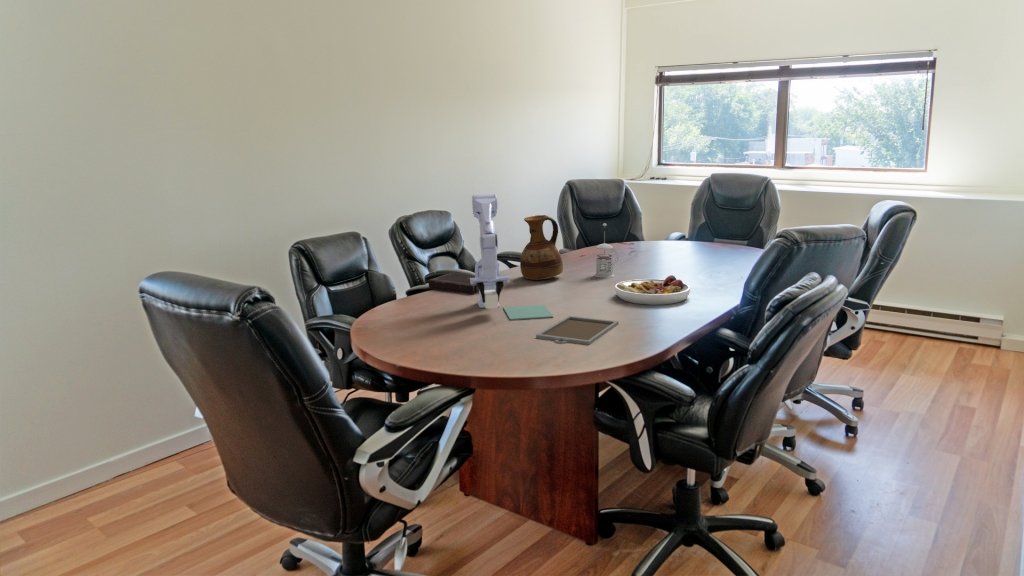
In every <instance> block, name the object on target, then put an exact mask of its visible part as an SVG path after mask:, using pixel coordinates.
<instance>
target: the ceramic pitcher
mask: <svg viewBox="0 0 1024 576" xmlns="http://www.w3.org/2000/svg"><path fill="white" fill-rule="evenodd" d="M523 220H524V222H526V224H528V227H529V228H528V229H529V230H528V231H529V234H530V237H529V242H528V243H527V244H526V245H525V247H524V248H523V250H522V252H521V255H520V262H519V265H520V268H519V269H520V272H521V275H522V277H524V278H525V279H527V280H534V281H535V280H537V281H538V280H547V279H550V278H555V277H557V276H559V275H560V274H562V273H563V272H564V263H563V257H562V255H561V253H560V250H558V248H557V246H556V245H557V244H556V243H557V240H558V235H559V226H558V223H557V221H556V220H555V219H554V218H553V217H551V216H549V215H546V214H543V215H541V214H540V215H539V214H536V215H535V216H532V215H531V216H527V217H525V218H523ZM545 221H550V223H551V225H552V234H551V237H550V239H547V238H546V237H545V234H544V230H543V229H544V223H545Z"/></svg>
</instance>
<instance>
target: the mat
mask: <svg viewBox="0 0 1024 576" xmlns="http://www.w3.org/2000/svg"><path fill="white" fill-rule="evenodd" d="M503 311H504V312H505V313H506V315H507V317H508V319H509V320H510V321H522V320H537V319H538V320H539V319H554V315H553V314H552V313H551V311H550V310H548V308H547V307H546V306H545V304H537V305H534V304H533V305H517V306H504V307H503Z"/></svg>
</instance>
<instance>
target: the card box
mask: <svg viewBox="0 0 1024 576" xmlns="http://www.w3.org/2000/svg"><path fill="white" fill-rule="evenodd" d="M484 296H485V303H484V305H485V307H484V308H485V309H488V310H489V309H499V307H498V303H499V302H498V294H497V293H496V291H495V290H484Z"/></svg>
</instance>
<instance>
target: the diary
mask: <svg viewBox="0 0 1024 576" xmlns="http://www.w3.org/2000/svg"><path fill="white" fill-rule="evenodd" d="M470 278H475V274H474V275H473V274H470V273H469V274H468V273H462V272H449V273H446V274H443V275H440V276H438V277H433V278H430V279H429V280H428V288H429V289H430V290H436V291H443V292H444V291H445V292H452V293H459V294H467V295H476V294H477V293H478V294H479V288H478V286H477V284H471V283H470Z"/></svg>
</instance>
